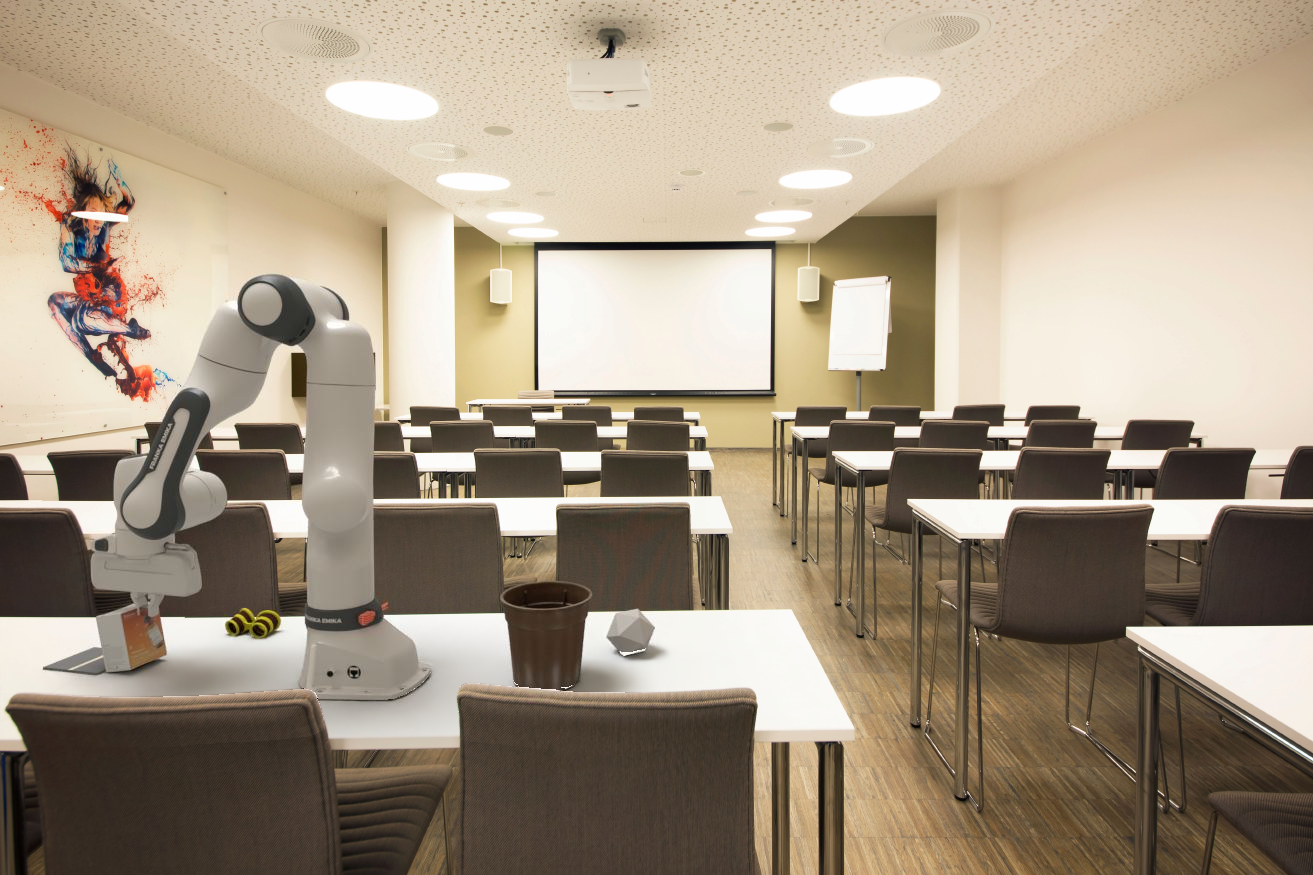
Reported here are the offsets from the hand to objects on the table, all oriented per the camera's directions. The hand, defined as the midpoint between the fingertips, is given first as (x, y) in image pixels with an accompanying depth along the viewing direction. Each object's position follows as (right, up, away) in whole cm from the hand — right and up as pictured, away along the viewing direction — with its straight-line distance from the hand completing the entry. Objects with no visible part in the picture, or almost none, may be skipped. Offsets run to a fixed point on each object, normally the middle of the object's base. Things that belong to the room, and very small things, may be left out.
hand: (148, 615), depth 134 cm
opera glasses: (+9, -9, +19) cm, 23 cm away
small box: (-3, -9, +1) cm, 10 cm away
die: (+88, -11, +14) cm, 89 cm away
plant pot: (+73, -12, -1) cm, 74 cm away
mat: (-12, -9, +3) cm, 15 cm away
